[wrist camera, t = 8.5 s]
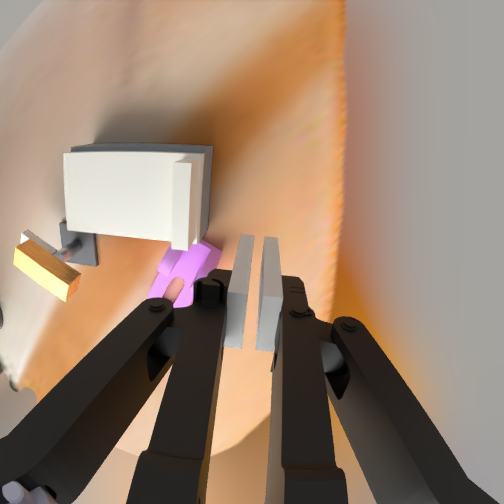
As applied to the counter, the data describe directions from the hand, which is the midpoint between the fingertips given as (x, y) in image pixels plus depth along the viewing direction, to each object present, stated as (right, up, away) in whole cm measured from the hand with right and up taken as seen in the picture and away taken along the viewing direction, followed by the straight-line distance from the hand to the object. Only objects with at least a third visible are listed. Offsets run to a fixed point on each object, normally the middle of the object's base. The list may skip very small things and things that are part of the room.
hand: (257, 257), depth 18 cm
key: (-26, +2, +20) cm, 33 cm away
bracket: (-10, -3, +22) cm, 24 cm away
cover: (-13, +7, +12) cm, 19 cm away
